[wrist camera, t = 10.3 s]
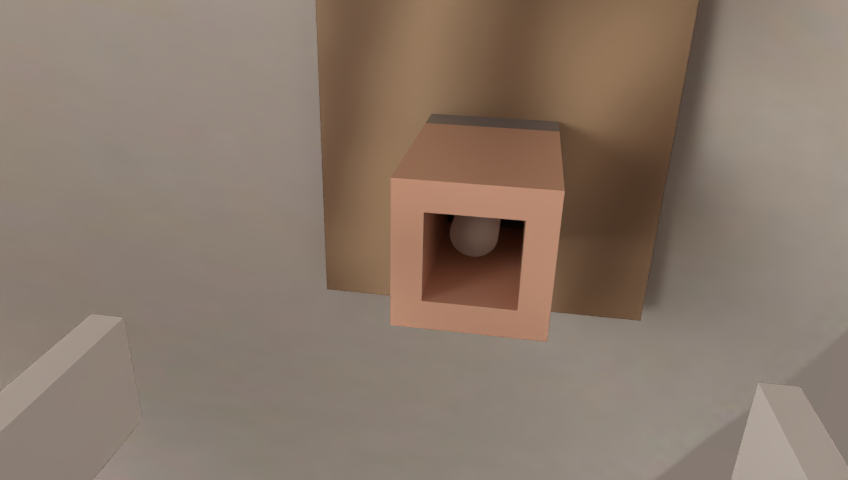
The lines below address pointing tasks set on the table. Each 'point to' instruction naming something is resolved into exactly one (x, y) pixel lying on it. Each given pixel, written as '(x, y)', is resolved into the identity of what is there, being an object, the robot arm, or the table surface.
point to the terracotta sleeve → (480, 197)
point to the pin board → (514, 99)
